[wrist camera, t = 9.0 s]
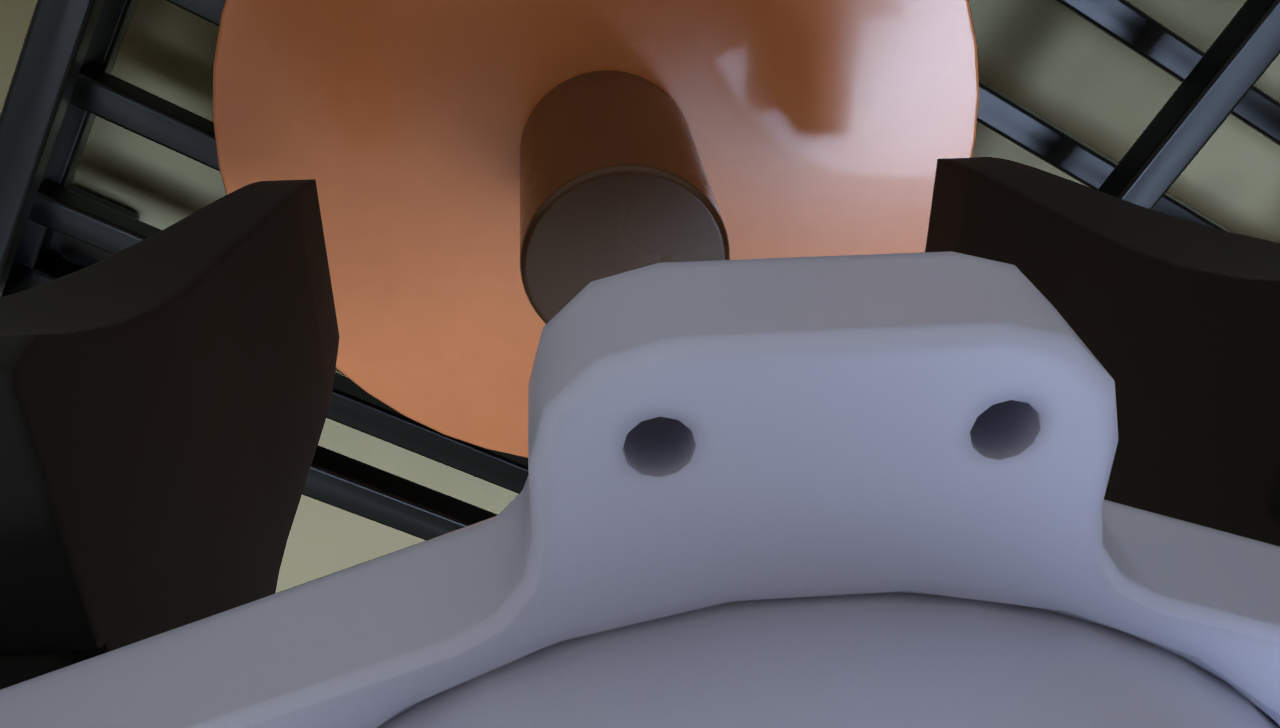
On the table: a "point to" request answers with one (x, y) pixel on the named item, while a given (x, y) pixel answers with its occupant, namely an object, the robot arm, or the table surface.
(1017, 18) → the table surface
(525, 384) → the lid
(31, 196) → the dish rack
